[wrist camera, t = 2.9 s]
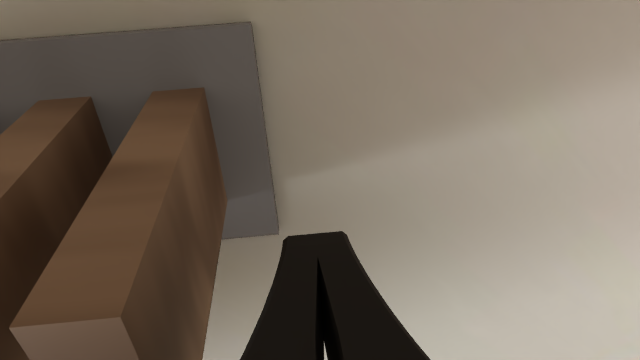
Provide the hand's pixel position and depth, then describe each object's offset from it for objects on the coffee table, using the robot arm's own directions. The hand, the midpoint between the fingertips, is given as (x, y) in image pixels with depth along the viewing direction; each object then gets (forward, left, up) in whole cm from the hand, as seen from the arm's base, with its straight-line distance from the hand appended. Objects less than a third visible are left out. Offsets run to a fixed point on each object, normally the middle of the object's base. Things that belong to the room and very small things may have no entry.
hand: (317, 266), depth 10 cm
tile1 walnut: (0, +4, -6) cm, 7 cm away
